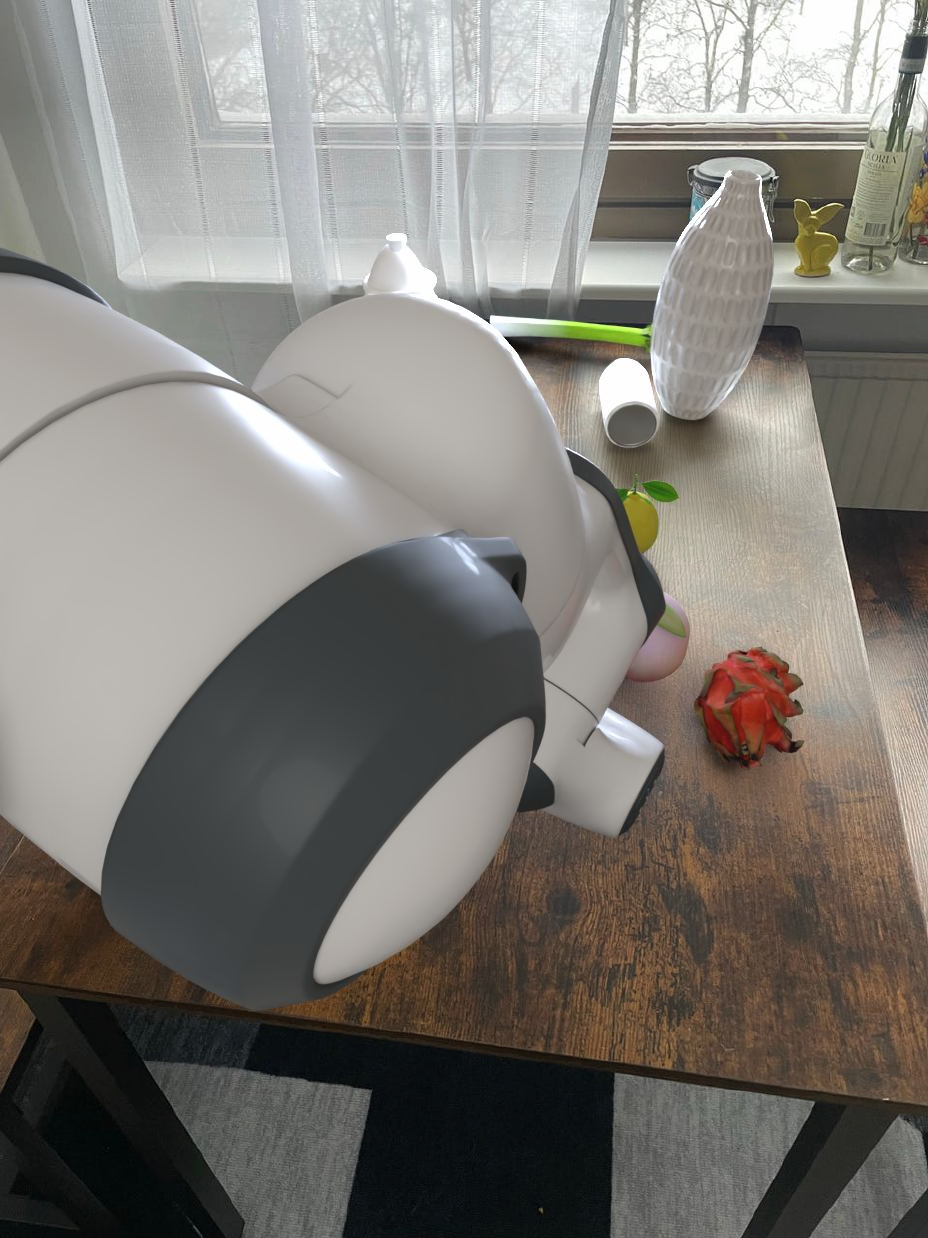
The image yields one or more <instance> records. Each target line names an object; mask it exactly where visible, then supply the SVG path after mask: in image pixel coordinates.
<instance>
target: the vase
mask: <svg viewBox="0 0 928 1238" xmlns="http://www.w3.org/2000/svg"><path fill="white" fill-rule="evenodd" d="M762 182H763V179H762V177H761V175H759V174H758V173H756V172H753V171H751V170H744V169H732V170H729V171H728V172H727V173H726V174H725V176H724V179H723V182H722V183H721V185H720V187H719V188H718V190H717V191H716V192H715V193H714V194H713V195H712V197H710V199H709V200H708V201H707V202H706V203H705V204H704V205H703V207H702V208H700V210H699V211H698V212H697V213H696V214H695V216H694V217H692V220H691V221H690V222H689V223H688V225H687V226H686V227H685V229H684V231H683V232H682V234H681V236H680V237H679V239H678V241H677V243H676V245H675V247H674V248H673V250H672V253H671V255H670V257H669V259H668V262H667V264H666V266H665V270H664V272H663V274H662V279H661V283H660V286H659V290H658V294H657V298H656V302H655V306H654V311H653V317H652V318H653V319H652V323H651V324H652V332H651V349H650V353H651V354H650V353H649V354H650V366H651V374H652V379H653V385H654V388H655V392H656V394H657V397H658V400H659V402H660V403H659V404H660V405H661V408H662V410H664V412H666V413H667V414H669V415H670V416H672V417H675V418H677V419H681V420H688V421H697V420H702V419H704V418H706V417H707V416H708V415H710V414H711V413H712V412H713V411H714V410H715V409H716V408H717V407H718V406H719V405H720V404H722V402H724V401H725V400H726V398H727V397H728V396H729V394H730V393H731V392H732V390H734V388H735V387H736V385H737V384H738V382H739V380H740V379H741V377H742V375H743V373H744V372H745V370H746V369H747V366H748V365H749V362H750V361H751V359H752V357H753V354H754V352H755V349H756V346H757V345H758V342H759V338H760V335H761V332H762V330H763V326H764V322H765V320H766V317H767V312H768V308H769V303H770V299H771V294H772V287H773V281H774V265H775V264H774V263H775V256H774V243H773V236H772V231H771V227H770V223H769V219H768V216H767V212H766V209H765V206H764V202H763V198H762Z"/></svg>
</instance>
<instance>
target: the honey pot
mask: <svg viewBox="0 0 928 1238" xmlns="http://www.w3.org/2000/svg"><path fill="white" fill-rule="evenodd" d="M385 237H386V239H385V240H386V244H385V245H384V246H383V247H382V248H381V249H380V251H379V252H378V254H377V256H376V258H375V260H374V262H373V264H372V267H371V269H370V272H369V273H368V274H366V275H365V277H363V280H362V282H361V285H362V289H363V291H364V294H363V296H367V295H372V294H380V293H413V294H420V295H426V296H431V297H435V298H438V296H437V295H436V294H435V292H434V288H435V286H436V284H437V276H436V275H435V273H434V272H432V271H431V270H429V269H427V268H425V267H423V266H422V264H421V263H420V261H419V260H418V258H417V256H416V255H415V254H414V253H413V251H412V250H411V249H410V248H409V247H408V246H407V245H406V244H407V235H406V234H404V233H401V232H399V233H398V232H396V233H391V234H388V235H387V236H385ZM438 299H439V298H438Z"/></svg>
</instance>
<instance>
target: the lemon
mask: <svg viewBox="0 0 928 1238" xmlns="http://www.w3.org/2000/svg"><path fill="white" fill-rule="evenodd" d="M638 484H640V485H641V486H642V487H643V489H644V491H645V493H646V494H647V495H646V494H645V493H643V492H639V491H637V490H638V489H637V488H638ZM633 485H634V486H632V487H630V488H622V487H615V488H616V490H617V491H618V493H619V495H620V497H621V500H622V502H623V504H624V507H625V510H626V512H627V515H628V518H629V521H630V525H631V528H632V531H633V534H634V537H635V540H636V543H637V546H638V549H639V551H640V552H641V553H642V554H643V555H644V554H645V553H646V552H648V550H650V549H652V546H654V544H655V542H656V540H657V538H658V534H659V527H660V526H659V525H660V523H659V522H660V521H659V520H660V518H659V514H658V511H657V508H656V505H655V503H654V502H653V501H652V499H653V500H655V501H656V502H659V503H673V502H675V501H678V500H679V499H680V496H679V493H678V491H677V490H676V488H675V487H674V486H673V485H672V484H670V483H669V482H666V481H663V480H650V481H645V482H641V481H640V480H638V474H634V484H633ZM631 490H633V491H631ZM649 497H650V498H649Z"/></svg>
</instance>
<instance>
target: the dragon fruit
mask: <svg viewBox="0 0 928 1238" xmlns="http://www.w3.org/2000/svg"><path fill="white" fill-rule="evenodd" d="M790 666H791V665H790V664H789V663H788V662H787V661H785V660H783V659H782V658H781V657H780V656H779V655H778V654H777V653H775V652H772V651H770V652H769V651H768V650H767V649H766V648H764V647H763V646H762V645H761V646H754V647H750V649H749V650H747V651H745V650H744V651H743V650H741V649H740V650H739V649H735V650H732V651H730V652H729V653H727V655H726V660H725V661H722V662H714V663H713V664H712V666H711V668H710V669H707V670H706V671H704V673H703V679H704V682H703V685H702V687H701V689H700V692H699V694H698V695H697V696H696V698H695V699H694V700H693V701H694V702H693V707H694V709H693V710H694V712H695V713H696V714H697V717H698V719H699V721H700V726H701V727H702V729H703V732H704V734H705V737H706V741H707V742H708V743H709V744H710V743H712V745H713V746H714V749H715V750H716V751H717V753H718V755H719V756H720V758H721V759H722V761H723V763H724V764H726V765H728V766H731V764H730V760H731V761H734V762H738V765H739V768H740V769H742V770H743V771H750V770H752V769H755V768H758V767H762V766H763V763H762V759H764V757H765V752H766V746H767V745H769V746H771V747H773V749H775V750H776V751H777V752H779V754H783V753H786V754H793V753H797V752H798V751H799V750H800V749H801V748H802V747H803V745H804V743H805V740H804V739H798V740H795V741H794V740H792V739H793V733H792V731H791V730H790V729H789V727H787V726H786V725H785V724H786V723H788V718H794V717H796V716H802V715H804V708H803V707H802V704H801V702H800V700H798V699H797V698H794V700H793V699H792V698H791V697H790V695H791V694H793V693H794V692H796V691H798V689H800V688H801V687H802V686H804V684H805V683H804V682H803V680H802V678H801V677H800V676H799V675H798V674H797V673H794V672H793V673H792V672H790Z"/></svg>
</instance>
